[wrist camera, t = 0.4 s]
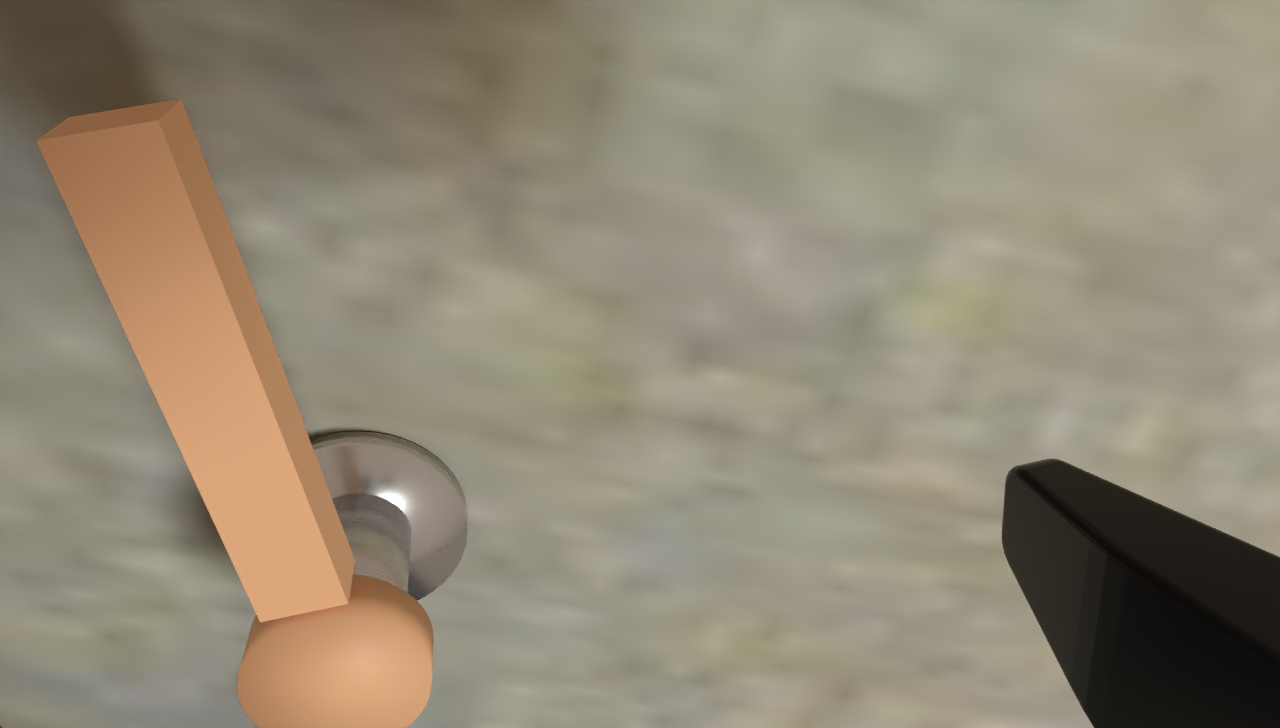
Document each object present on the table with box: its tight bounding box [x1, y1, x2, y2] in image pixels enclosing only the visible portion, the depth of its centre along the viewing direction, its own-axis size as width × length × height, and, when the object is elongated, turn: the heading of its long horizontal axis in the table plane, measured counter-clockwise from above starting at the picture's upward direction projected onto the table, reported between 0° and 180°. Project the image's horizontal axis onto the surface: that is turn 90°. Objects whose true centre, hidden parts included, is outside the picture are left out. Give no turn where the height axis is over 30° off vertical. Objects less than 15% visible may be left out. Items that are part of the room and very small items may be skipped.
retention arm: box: [36, 99, 433, 728], centre depth 16 cm, size 13×4×1 cm, turn 7°
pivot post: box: [310, 431, 467, 600], centre depth 21 cm, size 5×5×4 cm
